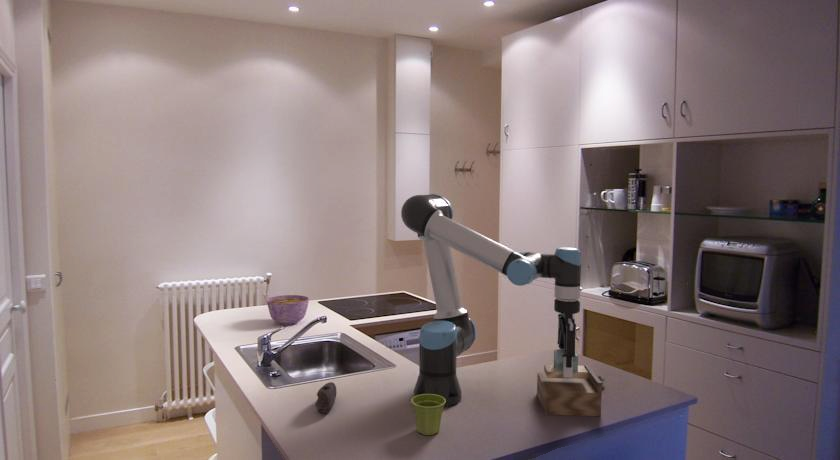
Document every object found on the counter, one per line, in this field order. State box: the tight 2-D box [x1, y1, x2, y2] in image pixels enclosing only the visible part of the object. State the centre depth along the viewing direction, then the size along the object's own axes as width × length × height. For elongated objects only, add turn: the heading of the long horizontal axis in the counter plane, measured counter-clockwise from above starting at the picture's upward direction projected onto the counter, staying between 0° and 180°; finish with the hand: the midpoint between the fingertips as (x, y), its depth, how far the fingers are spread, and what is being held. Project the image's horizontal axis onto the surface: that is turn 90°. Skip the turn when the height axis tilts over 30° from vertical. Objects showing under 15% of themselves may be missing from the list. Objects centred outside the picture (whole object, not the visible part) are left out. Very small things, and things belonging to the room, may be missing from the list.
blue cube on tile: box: [543, 349, 588, 379], centre depth 167 cm, size 12×6×7 cm, turn 87°
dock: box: [536, 364, 603, 417], centre depth 167 cm, size 16×16×10 cm
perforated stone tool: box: [315, 381, 338, 414], centre depth 165 cm, size 15×5×7 cm, turn 176°
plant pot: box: [410, 394, 446, 436], centre depth 149 cm, size 9×9×9 cm
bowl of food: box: [266, 294, 310, 326], centre depth 262 cm, size 20×20×12 cm
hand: (565, 373), depth 167 cm, fingers closed on blue cube on tile, 6 cm apart
